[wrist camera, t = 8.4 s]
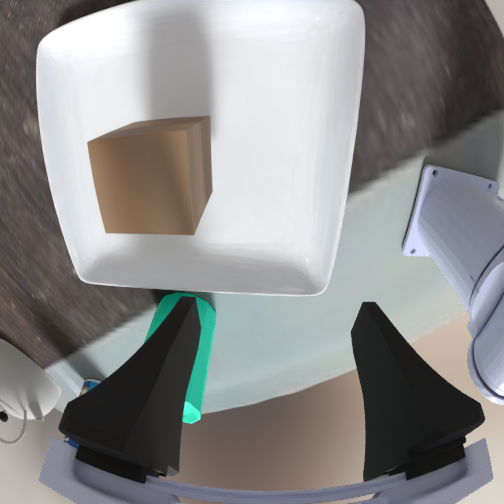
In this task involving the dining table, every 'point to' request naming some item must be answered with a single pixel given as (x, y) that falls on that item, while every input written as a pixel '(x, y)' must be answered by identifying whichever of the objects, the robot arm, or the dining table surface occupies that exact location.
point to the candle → (203, 355)
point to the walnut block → (153, 175)
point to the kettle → (24, 388)
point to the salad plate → (212, 135)
